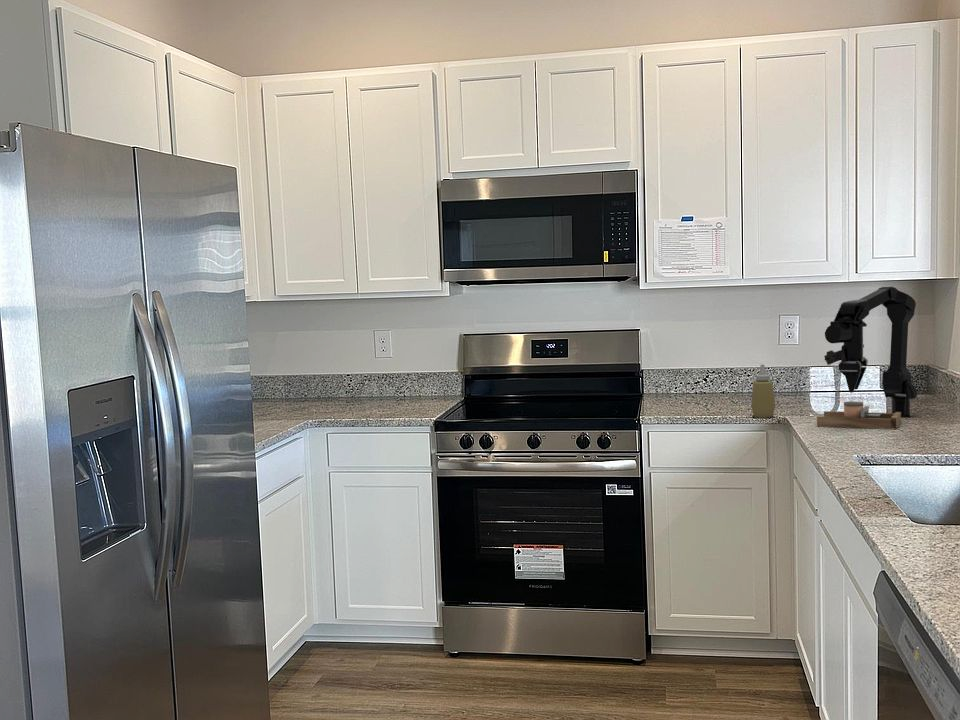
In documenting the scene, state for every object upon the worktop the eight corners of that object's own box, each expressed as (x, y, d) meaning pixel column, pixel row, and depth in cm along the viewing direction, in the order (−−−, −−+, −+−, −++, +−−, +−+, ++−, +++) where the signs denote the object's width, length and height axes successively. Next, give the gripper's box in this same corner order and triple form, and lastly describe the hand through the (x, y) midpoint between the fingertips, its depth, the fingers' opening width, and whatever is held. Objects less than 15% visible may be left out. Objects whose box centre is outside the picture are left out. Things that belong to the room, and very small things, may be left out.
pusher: (865, 418, 301) (865, 406, 300) (882, 419, 298) (882, 406, 298) (860, 423, 292) (860, 410, 291) (878, 423, 289) (878, 410, 289)
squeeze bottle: (746, 416, 324) (745, 364, 322) (765, 414, 326) (764, 363, 325) (761, 419, 316) (760, 366, 315) (780, 417, 319) (780, 364, 318)
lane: (824, 420, 308) (824, 409, 308) (901, 422, 297) (901, 411, 297) (817, 426, 296) (816, 415, 296) (896, 429, 285) (896, 417, 285)
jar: (845, 419, 301) (845, 401, 301) (864, 420, 299) (864, 401, 298) (842, 422, 296) (842, 403, 296) (862, 422, 294) (862, 403, 293)
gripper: (831, 340, 308) (831, 387, 309) (821, 343, 291) (821, 393, 293) (867, 339, 302) (867, 388, 303) (859, 343, 286) (859, 394, 287)
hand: (853, 390), depth 297 cm, fingers open, 9 cm apart
